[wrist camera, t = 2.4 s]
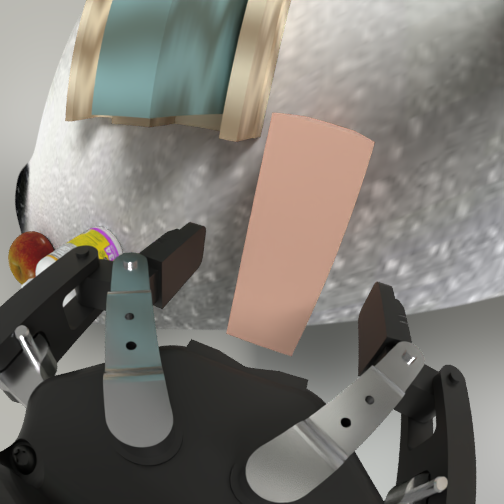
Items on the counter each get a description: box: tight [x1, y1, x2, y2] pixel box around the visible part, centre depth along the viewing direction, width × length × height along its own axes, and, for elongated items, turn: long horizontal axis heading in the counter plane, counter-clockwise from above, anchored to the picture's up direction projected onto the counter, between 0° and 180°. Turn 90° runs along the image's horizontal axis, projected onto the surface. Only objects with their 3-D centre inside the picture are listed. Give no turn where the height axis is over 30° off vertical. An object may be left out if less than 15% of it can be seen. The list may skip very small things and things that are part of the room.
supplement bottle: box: [22, 226, 123, 307], centre depth 26 cm, size 7×7×13 cm
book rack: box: [65, 0, 291, 142], centre depth 13 cm, size 15×18×12 cm
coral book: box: [227, 113, 375, 356], centre depth 17 cm, size 12×4×11 cm, turn 169°
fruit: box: [8, 231, 54, 284], centre depth 34 cm, size 10×9×8 cm
